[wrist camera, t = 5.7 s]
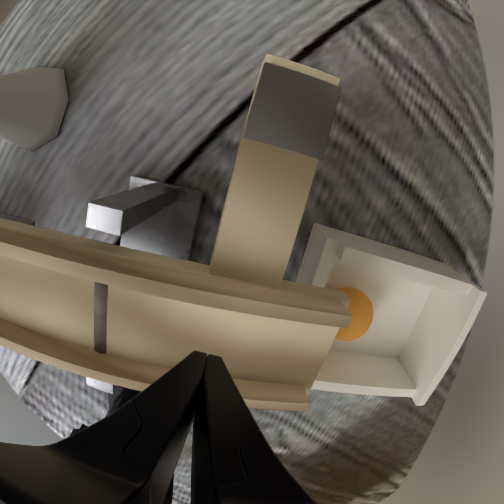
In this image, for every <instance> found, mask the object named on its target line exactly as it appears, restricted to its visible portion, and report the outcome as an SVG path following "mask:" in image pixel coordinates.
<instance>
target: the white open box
mask: <svg viewBox="0 0 504 504" xmlns="http://www.w3.org/2000/svg"><path fill="white" fill-rule="evenodd" d="M295 282H297V283H302V284H308V285H313V286H318V287H324V288H329V289H334V290H337V289H339V288H343V287H352V288H356V289H359V290H361V291H362V292H364V293H365V294H366V295H367V296H368V298H369V299H370V301H371V303H372V306H373V313H374V314H373V321H372V323H371V326H370V328H369V329H368V330H367V332H366V333H365V334H364V335H362V336H361V337H359V338H357V339H355V340H351V341H341V340H337V339H334V341H333V343H332V346H331V348H330V350H329V352H328V354H327V356H326V358H325V361H324V363H323V365H322V367H321V369H320V371H319V373H318V375H317V377H316V379H315V381H314V383H313V385H312V387H311V389H315V390H323V391H331V392H340V393H351V394H362V395H376V396H394V397H412V399H413V401H414V403H415V405H416V406H421V405H424V404H425V403H426V401H427V400H428V398H429V397H430V395H431V394H432V393H433V391H434V390H435V388H436V387H437V385H438V384H439V382H440V380H441V379H442V377H443V376H444V374H445V373H446V371H447V369H448V368H449V366H450V364H451V363H452V361H453V359H454V358H455V356H456V354H457V353H458V351H459V349H460V347H461V345H462V344H463V342H464V340H465V338H466V336H467V334H468V332H469V331H470V329H471V327H472V325H473V323H474V321H475V319H476V317H477V314H478V312H479V310H480V308H481V306H482V304H483V301H484V299H485V297H486V295H487V292H485V291H484V290H483V289H481V288H480V287H478V286H477V285H476V284H474V283H473V282H471V281H470V280H468V279H467V278H466V277H464V276H463V275H461V274H460V273H458V272H457V271H455V270H454V269H452V268H451V267H449V266H448V265H446V264H445V263H443V262H440V261H437V260H434V259H431V258H428V257H425V256H422V255H419V254H416V253H413V252H410V251H406V250H403V249H400V248H397V247H394V246H391V245H387V244H384V243H381V242H378V241H375V240H371V239H368V238H365V237H361V236H358V235H355V234H351V233H348V232H345V231H341V230H338V229H334V228H331V227H327V226H324V225H320V224H317V223H314V224H313V227H312V230H311V233H310V237H309V240H308V243H307V246H306V249H305V252H304V256H303V259H302V262H301V265H300V268H299V271H298V274H297V277H296V280H295Z"/></svg>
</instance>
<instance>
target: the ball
mask: <svg viewBox="0 0 504 504" xmlns="http://www.w3.org/2000/svg"><path fill="white" fill-rule="evenodd" d="M337 290H340V291H344V293H345V294H346V295H347V296H348V297H349V299H350V300H351V302H350V304H349V307H348V311H349V312H350V313H351V315H352V316H353V317H352V319H351V322H350V324H349V326H348V328H341V327H340V328H339V330H338V332H337V335H336V337H335V339H337V340H341V341H351V340H355V339H357V338H359V337H361V336H362V335H364V334H365V333H366V332H367V330H368V329H369V328H370V326H371V323H372V321H373V314H374V313H373V306H372V303H371V301H370V299H369V298H368V296H367V295H366V294H365V293H364V292H362V291H361V290H359V289H356V288H352V287H343V288H339V289H337Z"/></svg>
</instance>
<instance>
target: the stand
mask: <svg viewBox="0 0 504 504" xmlns="http://www.w3.org/2000/svg"><path fill="white" fill-rule="evenodd" d="M203 196H204V191H202V190H198V189H194V188H189V187H185V186H181V185H176V184H172V183H167V182H163V181H158V180H154V179H149V178H144V177H139V176H131V177H130V183H129V188H128V190H127V191H124V192H121V193H117V194H114V195H111V196H108V197H105V198H101V199H98V200H95V201H92V202H89V203H88V211H87V221H86V227H88V228H92V229H95V230H99V231H103V232H106V233H110V234H114V235H118V236H120V235H121V242H120V246H122V247H127V248H132V249H136V250H141V251H145V252H150V253H154V254H159V255H164V256H168V257H173V258H178V259H182V260H187V261H189V260H190V255H191V251H192V246H193V241H194V236H195V231H196V227H197V222H198V218H199V213H200V209H201V204H202V200H203ZM86 380H87V385H89V386H92V387H94V388H97V389H100V390H102V391H105V392H108V393H110V394H114V392H115V390H116V388H117V385H113V384H109V383H106V382H102V381H98V380H95V379H91V378H88V377H86Z"/></svg>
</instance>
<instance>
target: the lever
mask: <svg viewBox="0 0 504 504" xmlns="http://www.w3.org/2000/svg"><path fill="white" fill-rule="evenodd" d="M339 80H340V78H338V77H335V76H333V75H330V74H327V73H325V72H322V71H319V70H317V69H314V68H311V67H308V66H305V65H302V64H299V63H296V62H293V61H290V60H287V59H284V58H280V57H277V56H274V55H270V54H267V55H266V56H265V58H264V60H263V63H262V66H261V69H260V73H259V76H258V80H257V83H256V87H255V90H254V94H253V97H252V101H251V104H250V108H249V111H248V115H247V119H246V122H245V126H244V130H243V133H242V137H241V141H240V144H239V148H238V152H237V156H236V160H235V163H234V167H233V171H232V175H231V179H230V183H229V187H228V191H227V195H226V199H225V203H224V207H223V211H222V215H221V219H220V224H219V228H218V232H217V236H216V241H215V245H214V249H213V254H212V258H211V262H210V265H206V264H202V263H197V262H192V261H187V260H182V259H178V258H173V257H168V256H164V255H159V254H154V253H150V252H145V251H141V250H136V249H132V248H127V247H122V246H118V245H114V244H109V243H105V242H100V241H96V240H91V239H87V238H83V237H78V236H74V235H70V234H66V233H61V232H57V231H53V230H49V229H45V228H40V227H36V226H35V221H32V220H27V219H23V218H19V217H15V216H11V215H7V214H2V213H0V345H1V346H3V347H6V348H8V349H10V350H13V351H15V352H17V353H20V354H22V355H25V356H27V357H30V358H32V359H35V360H38V361H40V362H43V363H46V364H48V365H51V366H54V367H57V368H60V369H63V370H66V371H69V372H72V373H75V374H78V375H81V376H85V377H88V378H91V379H95V380H98V381H102V382H106V383H109V384H113V385H117V386H121V387H125V388H129V389H134V390H138V391H143V390H144V389H146V388H147V387H148V386H150V385H151V384H152V383H153V382H155V381H156V380H157V379H159V378H160V377H161V376H162V375H164V374H165V373H166V372H167V371H169V370H170V369H171V368H173V367H174V366H175V365H176V364H178V363H179V362H180V361H181V360H183V359H184V358H185V357H186V356H188V355H189V354H190V353H191V352H193V351H194V350H196V351H200V352H204V353H207V355H208V354H213V355H217V356H221V357H222V359H223V361H224V363H225V365H226V367H227V369H228V371H229V373H230V375H231V376H232V378H233V380H234V382H235V384H236V386H237V388H238V390H239V392H240V394H241V396H242V397H243V399H244V401H245V403H246V405H247V407H248V408H256V409H269V410H288V411H306V410H307V409H308V407H309V405H310V401H309V398H308V396H307V395H308V393H309V391H310V389H311V387H312V385H313V383H314V381H315V379H316V377H317V375H318V373H319V371H320V369H321V367H322V365H323V363H324V361H325V358H326V356H327V354H328V352H329V350H330V348H331V346H332V343H333V341H334V339H335V337H336V335H337V332H338V330H339V328H340V327H341V328H348V326H349V324H350V322H351V319H352V317H353V316H352V315H351V313H350V312H349V311H348V307H349V304H350V302H351V300H350V299H349V297H348V296H347V295H346V294H345V293H344V291H340V290H334V289H329V288H324V287H318V286H313V285H308V284H302V283H297V282H292V281H287V280H283V277H284V274H285V271H286V268H287V265H288V262H289V258H290V255H291V252H292V249H293V245H294V242H295V239H296V236H297V232H298V229H299V226H300V222H301V219H302V216H303V212H304V209H305V206H306V202H307V199H308V195H309V192H310V188H311V185H312V181H313V178H314V174H315V171H316V167H317V164H318V160H319V159H322V158H323V155H324V151H325V148H326V144H327V140H328V136H329V133H330V129H331V125H332V121H333V118H334V114H335V110H336V106H337V102H338V98H339V94H340V90H341V87H339V86H338V84H339ZM197 401H198V400H197Z"/></svg>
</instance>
